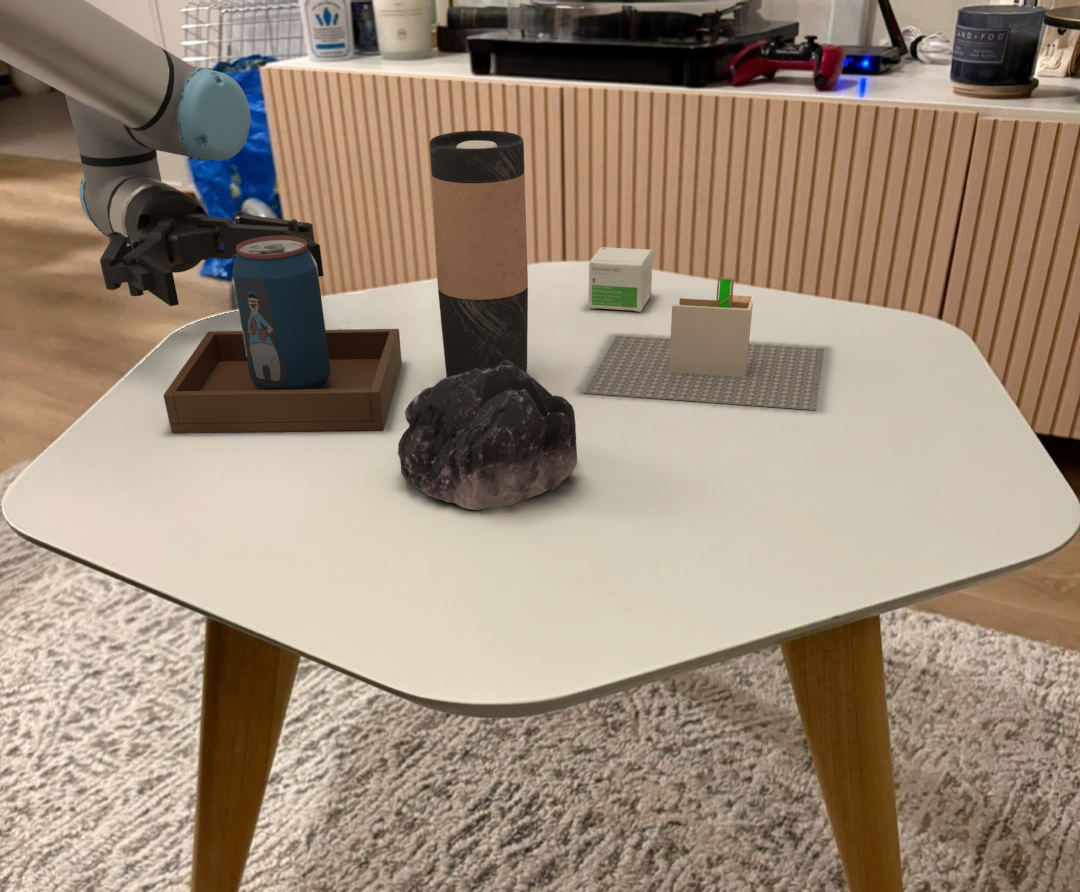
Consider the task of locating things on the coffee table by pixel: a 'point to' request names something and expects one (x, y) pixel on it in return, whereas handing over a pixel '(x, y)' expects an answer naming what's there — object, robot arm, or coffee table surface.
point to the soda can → (281, 313)
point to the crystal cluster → (488, 438)
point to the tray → (239, 406)
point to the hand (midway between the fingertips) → (247, 274)
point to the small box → (620, 278)
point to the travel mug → (480, 248)
